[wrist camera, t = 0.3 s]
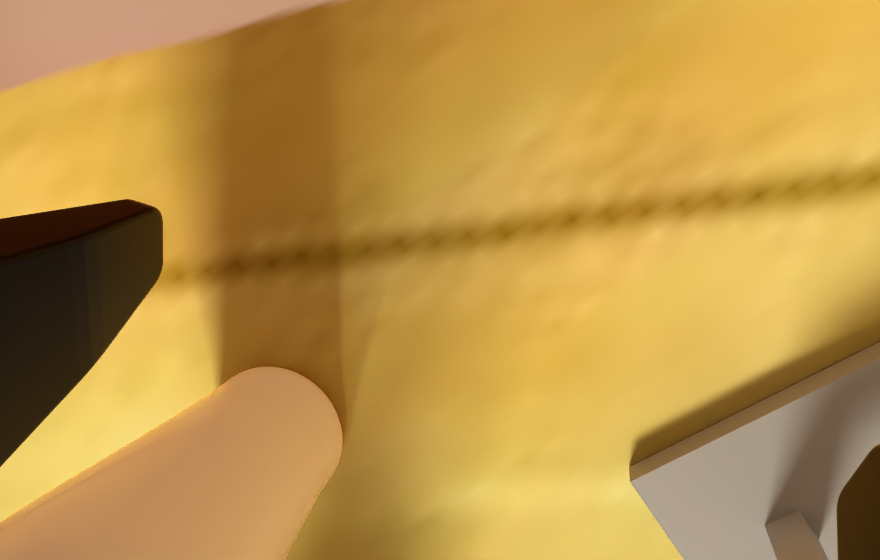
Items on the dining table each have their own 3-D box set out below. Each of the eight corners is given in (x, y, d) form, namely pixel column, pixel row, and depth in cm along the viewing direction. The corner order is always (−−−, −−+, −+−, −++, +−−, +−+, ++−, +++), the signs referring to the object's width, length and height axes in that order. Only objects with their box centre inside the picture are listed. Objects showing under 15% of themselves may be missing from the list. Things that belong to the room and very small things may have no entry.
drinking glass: (334, 325, 26) (23, 605, 12) (388, 490, 28) (165, 917, 14) (177, 361, 28) (-251, 641, 14) (235, 515, 29) (-103, 913, 15)
